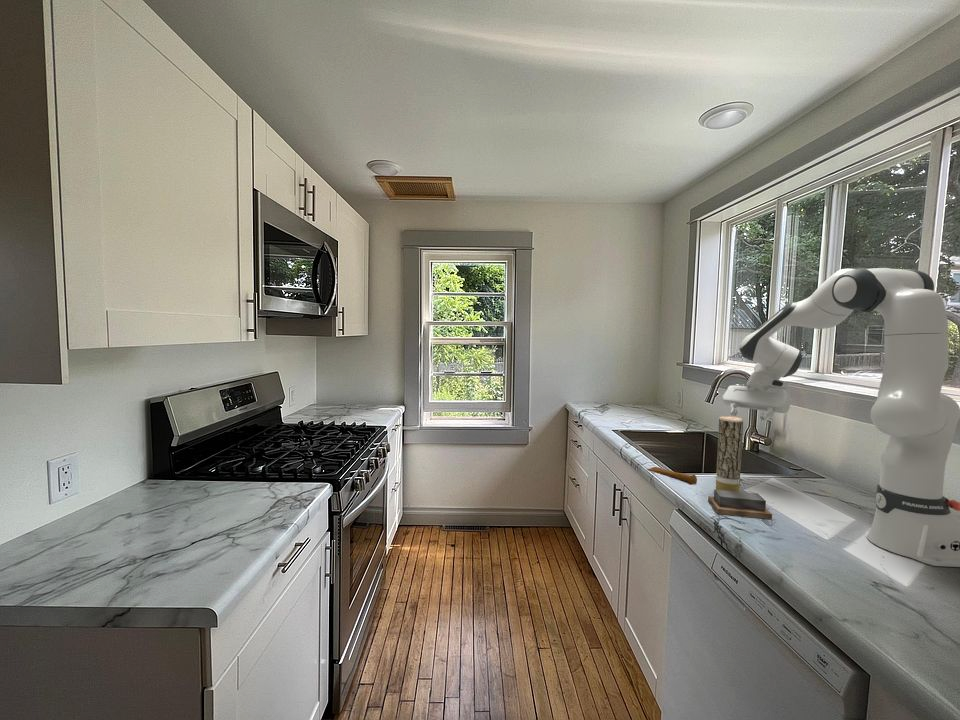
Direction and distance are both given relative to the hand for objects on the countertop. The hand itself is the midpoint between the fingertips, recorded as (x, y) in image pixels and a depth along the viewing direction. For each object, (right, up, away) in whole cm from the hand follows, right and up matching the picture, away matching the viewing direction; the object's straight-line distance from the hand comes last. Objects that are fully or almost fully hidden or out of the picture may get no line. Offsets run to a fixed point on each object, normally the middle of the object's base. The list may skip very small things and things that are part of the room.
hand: (747, 416), depth 147 cm
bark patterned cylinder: (-10, -25, -6) cm, 27 cm away
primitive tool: (-22, -24, +11) cm, 34 cm away
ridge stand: (-15, -25, -19) cm, 35 cm away
